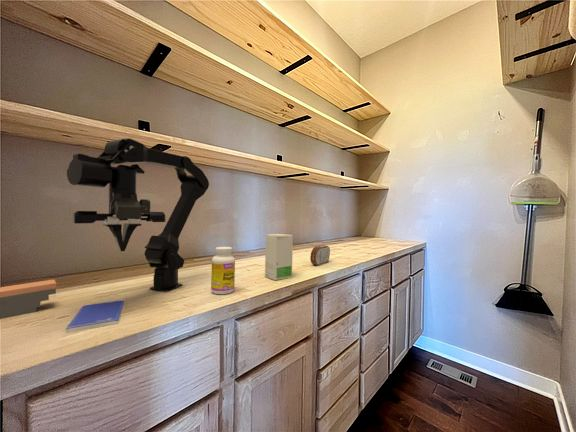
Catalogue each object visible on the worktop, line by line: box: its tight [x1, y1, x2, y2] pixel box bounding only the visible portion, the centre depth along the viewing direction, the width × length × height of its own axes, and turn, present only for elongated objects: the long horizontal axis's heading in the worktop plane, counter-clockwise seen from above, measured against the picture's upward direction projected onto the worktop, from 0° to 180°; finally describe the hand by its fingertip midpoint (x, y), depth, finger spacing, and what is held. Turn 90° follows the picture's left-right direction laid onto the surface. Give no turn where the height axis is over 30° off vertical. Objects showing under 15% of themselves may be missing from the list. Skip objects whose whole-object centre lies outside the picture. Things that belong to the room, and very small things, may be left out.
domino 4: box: [0, 307, 37, 320], centre depth 53 cm, size 1×4×10 cm
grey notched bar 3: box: [0, 295, 50, 309], centre depth 54 cm, size 1×4×10 cm
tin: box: [309, 244, 331, 266], centre depth 111 cm, size 15×3×8 cm, turn 144°
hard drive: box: [65, 300, 125, 334], centre depth 53 cm, size 2×8×12 cm
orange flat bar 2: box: [0, 287, 57, 303], centre depth 55 cm, size 1×4×10 cm
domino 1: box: [0, 279, 57, 298], centre depth 55 cm, size 1×4×10 cm
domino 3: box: [0, 301, 42, 314], centre depth 53 cm, size 1×4×10 cm
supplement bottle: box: [210, 246, 236, 295], centre depth 71 cm, size 7×7×13 cm
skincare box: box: [264, 233, 294, 281], centre depth 87 cm, size 8×7×16 cm
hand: (122, 251), depth 61 cm, fingers closed
